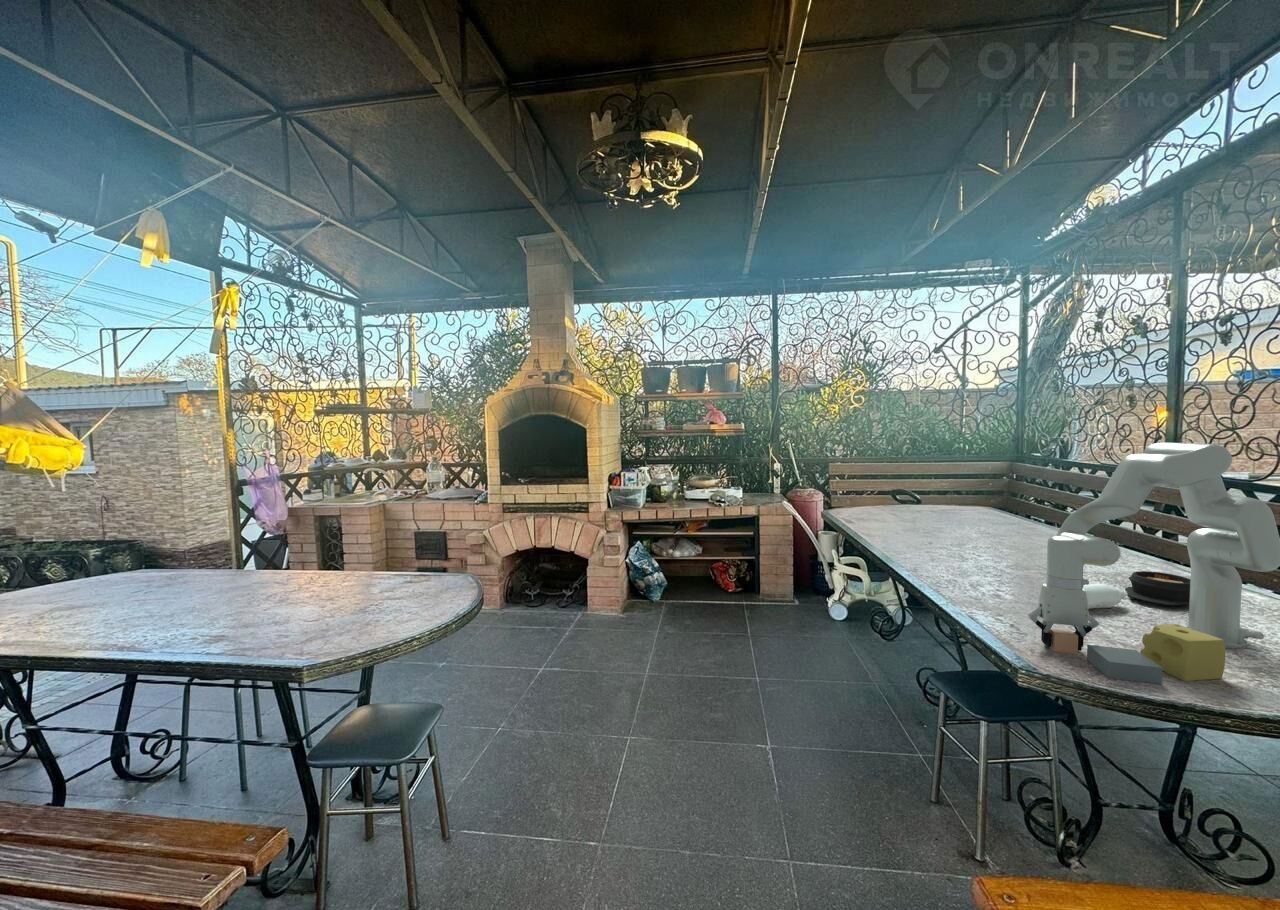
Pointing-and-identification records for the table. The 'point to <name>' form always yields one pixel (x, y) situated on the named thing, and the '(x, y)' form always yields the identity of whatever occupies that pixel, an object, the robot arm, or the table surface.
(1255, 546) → the robot arm
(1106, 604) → the white hollow cylinder
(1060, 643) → the cube
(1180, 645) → the cheese
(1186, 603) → the casserole
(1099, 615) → the table surface
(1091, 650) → the pedestal
